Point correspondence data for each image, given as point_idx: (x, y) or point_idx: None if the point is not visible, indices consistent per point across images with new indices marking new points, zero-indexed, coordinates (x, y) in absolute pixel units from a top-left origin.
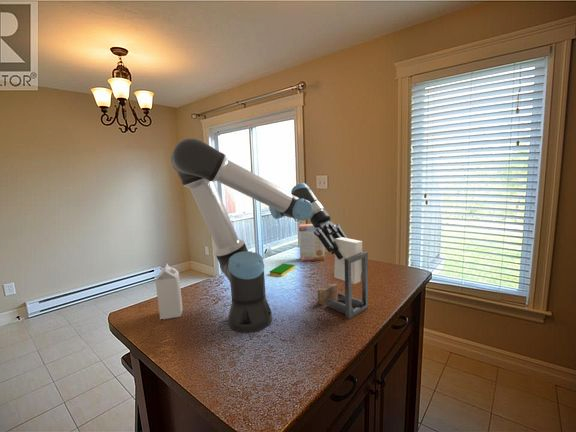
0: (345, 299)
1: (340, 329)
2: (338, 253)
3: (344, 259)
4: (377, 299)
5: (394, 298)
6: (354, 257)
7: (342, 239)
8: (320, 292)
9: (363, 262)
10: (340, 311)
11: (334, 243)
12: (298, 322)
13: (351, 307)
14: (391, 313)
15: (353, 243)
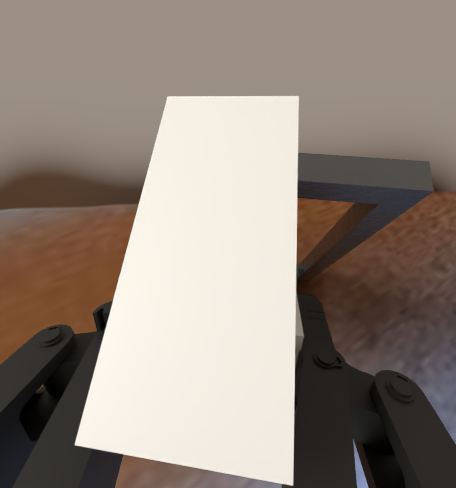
0: (326, 267)
1: (367, 261)
2: (322, 326)
3: (430, 192)
4: None
5: (126, 226)
6: (346, 157)
7: (254, 318)
8: None
9: None
10: None
11: (326, 431)
12: (435, 384)
13: (304, 259)
14: None
15: (295, 133)
